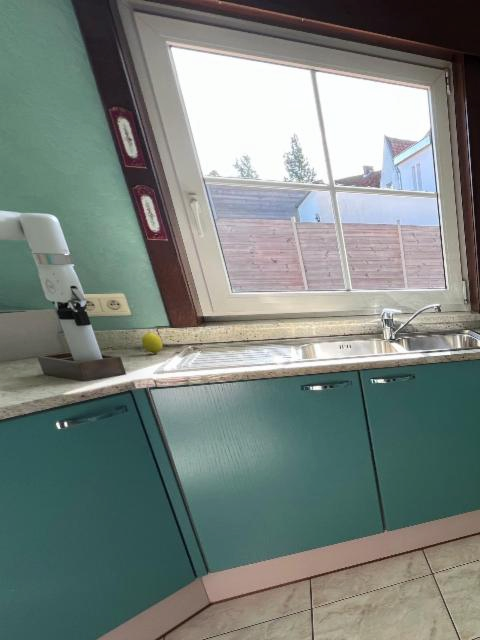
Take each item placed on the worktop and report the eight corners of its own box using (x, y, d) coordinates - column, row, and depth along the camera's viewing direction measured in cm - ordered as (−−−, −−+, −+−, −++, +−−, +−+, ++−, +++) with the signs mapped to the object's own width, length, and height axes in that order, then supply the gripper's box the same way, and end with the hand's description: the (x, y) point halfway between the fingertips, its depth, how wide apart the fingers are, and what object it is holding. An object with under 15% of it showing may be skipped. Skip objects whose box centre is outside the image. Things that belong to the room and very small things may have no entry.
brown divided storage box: (84, 381, 147) (77, 362, 144) (43, 374, 153) (36, 356, 151) (126, 374, 156) (120, 356, 154) (86, 367, 162) (80, 350, 160)
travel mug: (112, 372, 154) (90, 306, 147) (85, 376, 149) (60, 308, 141) (102, 370, 156) (80, 305, 149) (75, 373, 151) (50, 306, 143)
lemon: (149, 356, 181) (142, 334, 178) (143, 354, 184) (136, 332, 181) (167, 353, 185) (161, 332, 182) (161, 352, 188) (155, 331, 185)
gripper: (18, 259, 140) (42, 323, 146) (55, 261, 134) (78, 328, 141) (52, 259, 146) (74, 321, 153) (89, 261, 141) (110, 325, 148)
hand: (76, 324), depth 147 cm, fingers closed on travel mug, 6 cm apart
